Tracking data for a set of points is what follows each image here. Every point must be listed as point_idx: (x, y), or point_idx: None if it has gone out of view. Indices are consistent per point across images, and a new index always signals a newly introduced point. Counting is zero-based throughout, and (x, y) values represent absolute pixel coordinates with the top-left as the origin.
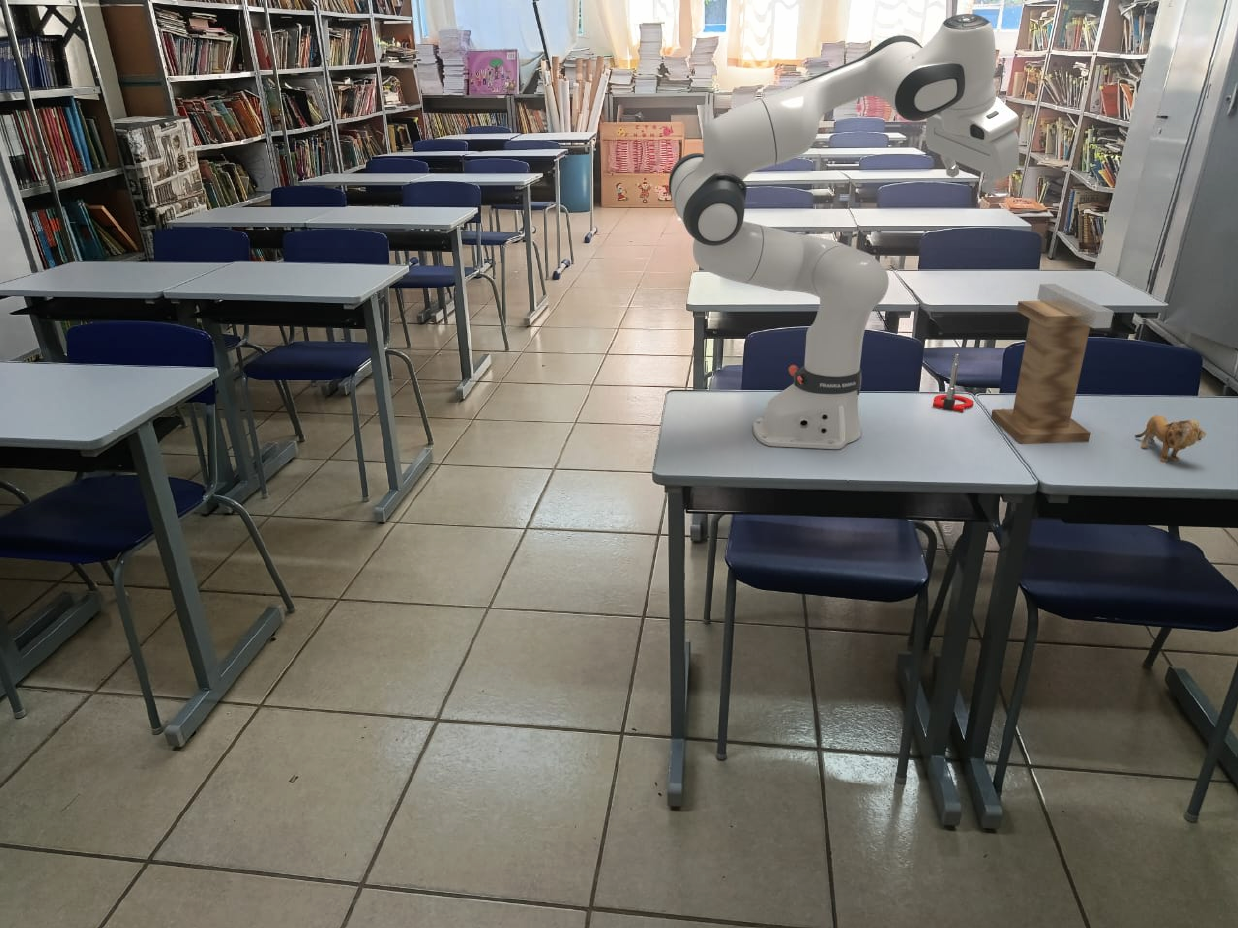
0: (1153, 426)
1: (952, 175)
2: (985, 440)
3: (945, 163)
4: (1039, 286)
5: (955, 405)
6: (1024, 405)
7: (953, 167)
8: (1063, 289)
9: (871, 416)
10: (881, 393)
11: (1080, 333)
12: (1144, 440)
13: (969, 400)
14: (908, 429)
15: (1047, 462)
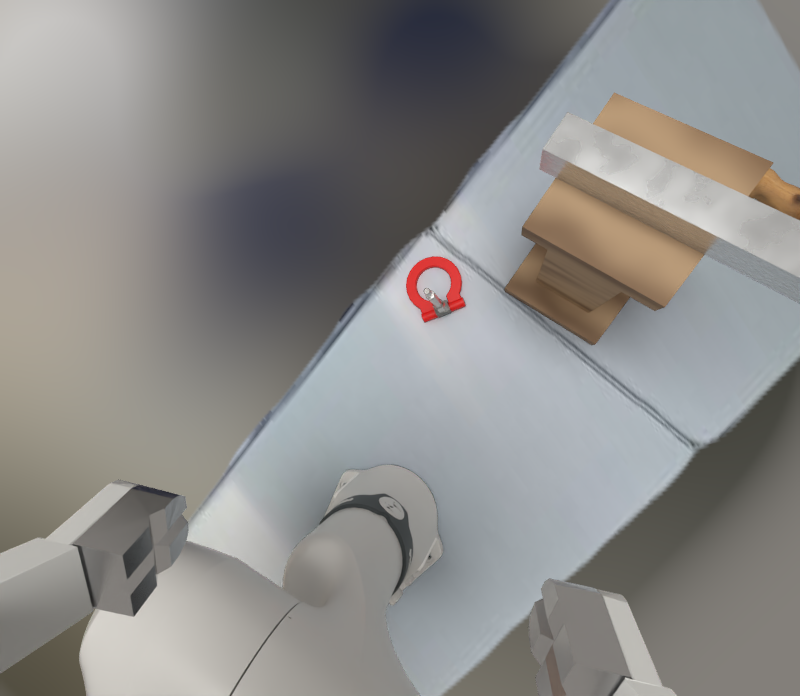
0: (757, 196)
1: (173, 557)
2: (551, 370)
3: (15, 662)
4: (542, 152)
5: (452, 306)
6: (568, 293)
7: (107, 588)
8: (626, 149)
9: (392, 417)
10: (345, 332)
11: None
12: None
13: (447, 264)
14: (455, 418)
15: (660, 374)
